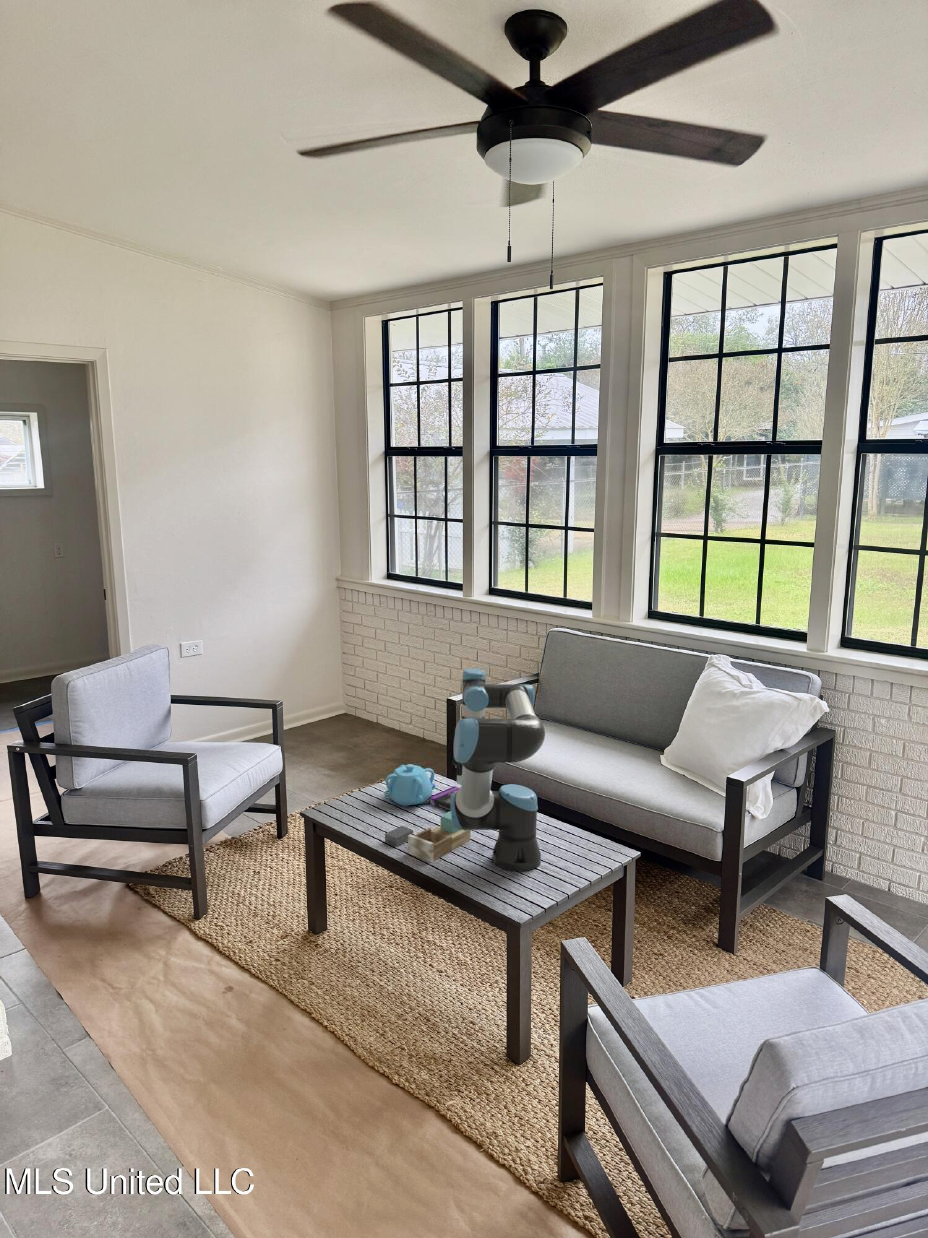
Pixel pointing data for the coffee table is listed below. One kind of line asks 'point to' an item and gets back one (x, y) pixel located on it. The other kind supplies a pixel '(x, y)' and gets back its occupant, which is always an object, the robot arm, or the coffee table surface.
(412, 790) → the decorative pot
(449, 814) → the block
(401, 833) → the dark grey block
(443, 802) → the box
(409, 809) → the coffee table surface
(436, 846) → the drawer
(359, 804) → the coffee table surface
